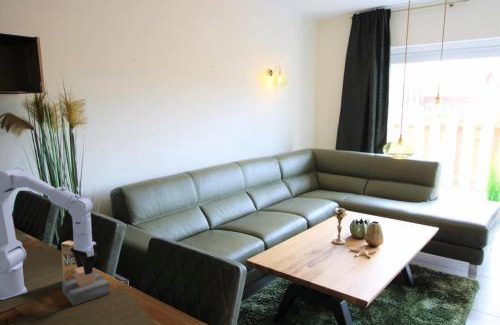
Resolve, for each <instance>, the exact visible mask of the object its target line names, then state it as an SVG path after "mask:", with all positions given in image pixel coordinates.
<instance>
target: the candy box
mask: <svg viewBox="0 0 500 325" xmlns="http://www.w3.org/2000/svg"><path fill="white" fill-rule="evenodd" d="M60 246H61V247H60V248H61V262H62V263H61V264H62V265H61V266H62V279H63V280H62V282H64V281H67V280H71V279H74V278H75V269H76V268H78V267H77V264H76V260H75V257H74V255H73V253H72V251H71V250H70V249H71V248H73V246H74V240H70V239H69V240H66V241H63V242H61V245H60ZM79 268H80V267H79Z"/></svg>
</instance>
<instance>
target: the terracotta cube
mask: <svg viewBox="0 0 500 325" xmlns="http://www.w3.org/2000/svg"><path fill="white" fill-rule="evenodd" d="M95 272H96V271H95V268H94V267H93V271H92V273H91V274H87V275H85V273H84V268H83V267H80V268H76V269H75V282H76V283H77V285H78V286H79V287H83V286H87V285H90V284H93V283H95Z"/></svg>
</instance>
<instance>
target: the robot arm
mask: <svg viewBox="0 0 500 325" xmlns="http://www.w3.org/2000/svg"><path fill="white" fill-rule="evenodd" d="M21 188H28V189H29V190H30V189H31V190H33V191H35V192H37V193H40V194H42V195H45V196H47V197H48V199H49V201H50V202H51V203H53V204H54V205H56V206H59V207H60V208H63V209H65V210H67V211H68V213H69V215H70V216H71V220H72V233H73V235H72V236H73V237H72V238H73V241H74V246H73V248H71V249H70V250H71V251H72V253H73V255H74V257H75V260H76V264H77V267H78V268H79V267H83V268H84V273H85V275H87V274H91V273H92V271H93V268H94V266H95V261H96V260H97V258H98V253H97V252H95V251H94V246H96V245H97V242H95V241H93V234H92V215H91V211H92V210H93V207H94V202H93V200H92V199H91V198H90V197H89V196H87V195H82V196H81V195H80V194H78V193H77V194H76V193H74V192H72V191H70V190H68V188H67V187H65V186H63V187H62V186H58V187H54V186H52V184H51V185H50V184H49V183H47V182H46V181H43V180H42V179H41V178H38V177H37V176H35V175H33V174H32V173H31V172H30V171H29V170H25V169H24V168H22V167H14V168H11V169H6V170H1V171H0V300H1V301H2V300H7V299H9V298H13V297H17V296H21V295H23V294H27V293H29V292H28V290H27V287H26V286H25V281H24V270H23V266H24V265H23V264H24V261H25V260H26V257H27V252H26V249H25V248H24V247H23V243H22V241H20V240H18V239H17V236H16V230H15V225H14V218H13V214H12V209H11V208H12V207H11V202H10V196H11V195H12V193H13V192H14V191H15V190H16V189H21Z"/></svg>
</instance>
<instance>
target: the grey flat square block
mask: <svg viewBox="0 0 500 325" xmlns="http://www.w3.org/2000/svg"><path fill="white" fill-rule="evenodd" d="M110 286H111V285H110V282H109V281H108V280H107V279H105V277H103V275H101V274H100V273H99V272H97V271H95V283H93V284H90V285H87V286H83V287H79V286H78V285H77V283H76V282H75V278H74V279H71V280H67V281H64V282H63V281H62V282H61V287H62V293H63V295H64V296H65V298H66V299H67V300H68V301H69V302H70V304H72V306H73V307H75V306H77V304H78V305H81V304H83V303H82V302H84V303H86V302H85V301H87V302H89V301H88V300H90V301H92V300H91V299H93V300H95V299H94V298H96V299H98V298H97V297H99V298H101V297H100V296H102V297H104V296H103V295H105V296H107V295H106V294H108V295H110V294H111V289H110V288H111V287H110ZM109 293H110V294H109ZM80 303H81V304H80ZM74 305H75V306H74Z"/></svg>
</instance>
